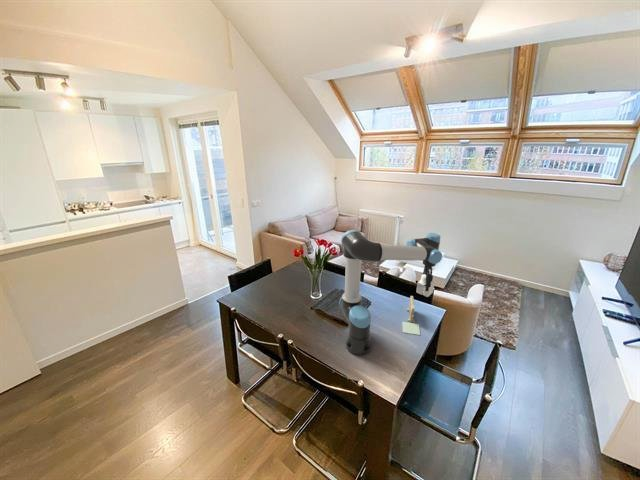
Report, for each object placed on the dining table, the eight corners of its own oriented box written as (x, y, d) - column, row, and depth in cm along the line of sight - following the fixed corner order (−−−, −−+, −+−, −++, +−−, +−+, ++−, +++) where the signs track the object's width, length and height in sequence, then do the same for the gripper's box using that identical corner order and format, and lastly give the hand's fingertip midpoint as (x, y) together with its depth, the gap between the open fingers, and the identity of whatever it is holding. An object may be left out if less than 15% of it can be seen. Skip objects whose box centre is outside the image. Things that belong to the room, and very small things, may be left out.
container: (421, 287, 173) (424, 270, 169) (433, 292, 168) (436, 274, 163) (415, 292, 168) (418, 274, 164) (427, 297, 163) (430, 278, 158)
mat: (402, 332, 162) (402, 332, 162) (402, 322, 171) (402, 321, 171) (420, 335, 160) (420, 334, 160) (418, 324, 169) (418, 324, 169)
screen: (407, 322, 171) (409, 307, 167) (407, 309, 184) (408, 295, 180) (414, 322, 170) (416, 308, 166) (413, 309, 183) (415, 296, 179)
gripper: (439, 267, 148) (433, 301, 156) (434, 251, 169) (429, 281, 177) (425, 266, 150) (420, 299, 158) (421, 250, 171) (417, 280, 179)
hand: (424, 289), depth 168 cm, fingers closed on container, 10 cm apart
